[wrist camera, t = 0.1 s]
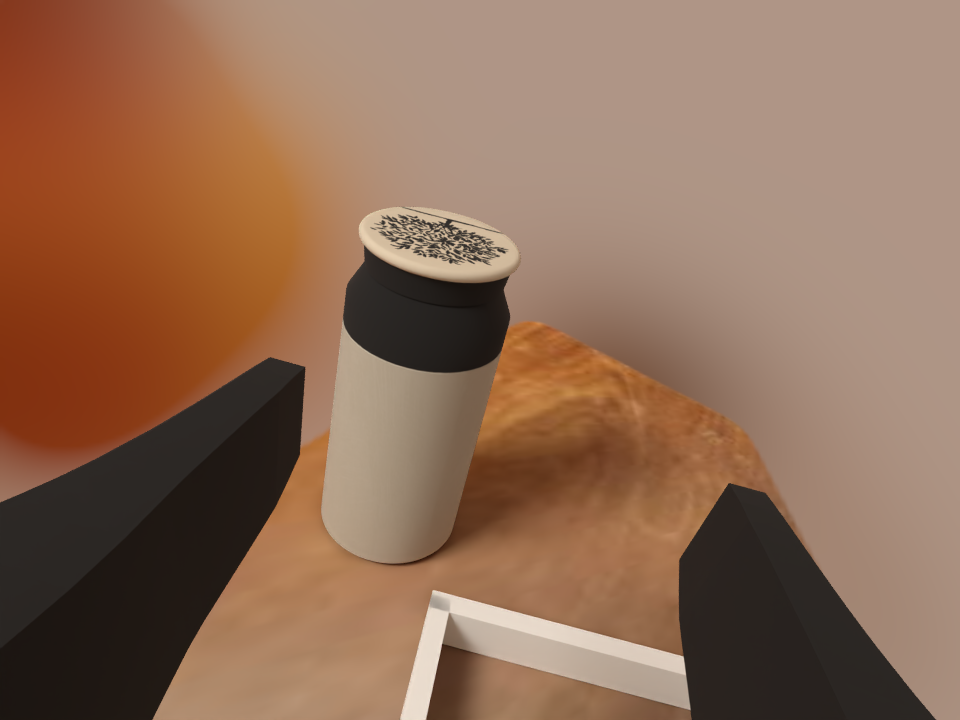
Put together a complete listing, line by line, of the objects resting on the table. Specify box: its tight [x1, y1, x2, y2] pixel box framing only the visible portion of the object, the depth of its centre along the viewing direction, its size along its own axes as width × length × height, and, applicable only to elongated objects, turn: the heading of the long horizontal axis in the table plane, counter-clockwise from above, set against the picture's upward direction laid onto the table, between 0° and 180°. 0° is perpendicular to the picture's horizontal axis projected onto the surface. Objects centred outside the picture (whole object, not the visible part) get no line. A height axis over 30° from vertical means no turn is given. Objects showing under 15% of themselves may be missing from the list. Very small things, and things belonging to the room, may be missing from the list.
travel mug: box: [321, 207, 521, 563], centre depth 33 cm, size 8×8×18 cm
